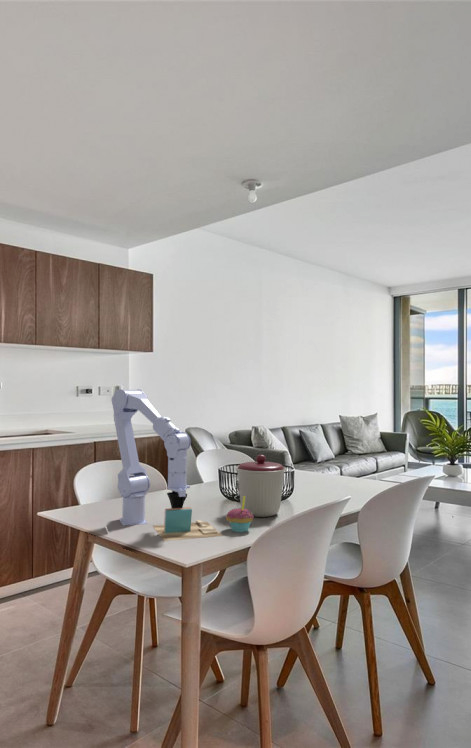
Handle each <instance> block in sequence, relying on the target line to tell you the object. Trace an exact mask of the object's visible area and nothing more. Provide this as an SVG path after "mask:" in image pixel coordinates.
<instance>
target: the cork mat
mask: <svg viewBox="0 0 471 748" xmlns="http://www.w3.org/2000/svg"><path fill="white" fill-rule="evenodd" d="M202 522H203V523H204V524H205V525H207V527H213V528H214V529H215V530H216V531H217V532H218V533H216V534H203V533H202V532H201V531H200V530H199V528H201V527H200V526H199V525H198V524H197V523H196V521H194V522H191V531H184V532H171V533H165V532H164V524H155V525H152V527H153V529H154V530H155V531H156V532H157V534H158V535H159V536H160V538H161V539H162V541H163V542H168V541H178V540H179V541H181V540H192V539H201V538H202V539H203V538H215V537H223V536H224V535H223V534H222V533H221V532H220V531H218V529H216V528H215V527H214V526H213V525H212V524H210V523H209V522H207V521H202Z"/></svg>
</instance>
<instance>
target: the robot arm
mask: <svg viewBox="0 0 471 748" xmlns="http://www.w3.org/2000/svg"><path fill="white" fill-rule="evenodd" d="M111 402H112V403H111V404H112V410H113V421H114V426H115V431H116V433H115V434H116V437H117V444H118V448H119V453H120V460H121V463H122V469H121V470H120V472H119V473H117V490H118V492H119V494H120V496H121V497H122V509H121V511H122V512H121V513H122V515H121V516H122V517H120V518H118V519H119V521H120V523H121V525H122V526H133V525H146V524H148V522H147V521H146V519H145V517H146V515H145V514H146V511H145V510H146V509H145V507H146V506H145V505H146V495H147V492H149V490H150V488H151V480H150V477H149V476H148V474H147V470H146V468H144V467H143V466H142V465H141V464H140V460H139V455H138V450H137V445H136V440H135V433H134V429H133V423H132V418H133V416H134V415H135V414H137V412H140V413H141V414H142V415H143V416H144V417H146V419H147V420H149V421H150V423H151V424H152V430H153V432H155V433H156V434H157V435H158V436H159V437H160V439H161V440H162V441H163V444H164V448H165V450H166V456H167V486H166V488H167V490H168V491H171V492H167V493H166V495H167V496H168V499H169V502H170V503H169V504H170V507H171V508H184V504H185V501H186V499H187V497H188V493H186V492H187V489H191V485H189V484H187V473H188V471H187V462H188V460H187V459H188V454H187V453H188V450H189V449H190V447H191V445H192V440H191V437H190V435H189V434H188V433H187V432H186V431H181V430H180V428H178V427H176V425H175V424H174V423H173V422H172V420H171V418H169V417H167V416H162V415H161V414H160V413H159V412H158V411H157V409H156V408H155V407H154V406H153V404H152V403H151V401H149V399H148V395H147V394H146V393H145V392H144V391H143V390H142V389H140V388H138V389H122V388H119V389H117V390H116V391H115V392H114V393H113V396H112V397H111Z"/></svg>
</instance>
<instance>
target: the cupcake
mask: <svg viewBox="0 0 471 748" xmlns="http://www.w3.org/2000/svg"><path fill="white" fill-rule="evenodd" d="M244 503H245V494H244V496H243V502H242V508H233V509H231V510H229V511H228V512H227V514H226V516H225V519H226V521H228V522H229V524H230V528H231V530H232V532H235V533H236V532H237V533H245V532H246V533H247V532H248V531H249V528H250V525H251V523H252V522H253V520H254V517H255V516H253V514H252V513H251V512H250V511H249V510H247V509H244Z"/></svg>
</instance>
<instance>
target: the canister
mask: <svg viewBox="0 0 471 748" xmlns="http://www.w3.org/2000/svg"><path fill="white" fill-rule="evenodd" d="M266 460H267V458H266V456H265V455H264V454H258V455H256V457H255V461H246V462H242V463H240V464H239V465H237V466H235V470H236V471H237V483H238V491H239V499H240V501H239V502H240V507H241V509H242V502H243V496H244V494H245V503H244V509H247V510H249V511H250V512H251V513H252V514H253V516H254V517H256V518H268V517H273V516H275V515H277V514H278V513H279V511H280V507H281V503H282V495H283V485H284V477H285V472H286V471H287V467H286V466H283V464H281V463H278V462H272V461H266Z"/></svg>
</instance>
